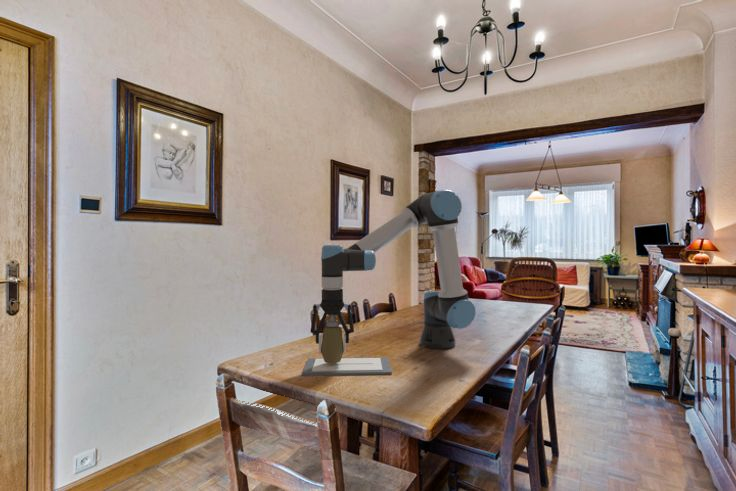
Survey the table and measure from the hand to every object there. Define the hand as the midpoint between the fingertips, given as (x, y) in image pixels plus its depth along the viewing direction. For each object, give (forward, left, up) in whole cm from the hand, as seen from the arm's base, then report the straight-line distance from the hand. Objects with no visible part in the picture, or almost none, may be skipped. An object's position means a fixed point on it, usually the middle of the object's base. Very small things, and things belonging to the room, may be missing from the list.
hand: (332, 352), depth 137 cm
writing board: (-5, 0, -5) cm, 8 cm away
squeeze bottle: (0, 0, -3) cm, 3 cm away
